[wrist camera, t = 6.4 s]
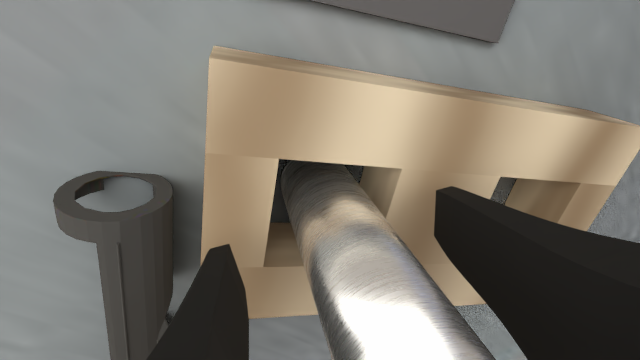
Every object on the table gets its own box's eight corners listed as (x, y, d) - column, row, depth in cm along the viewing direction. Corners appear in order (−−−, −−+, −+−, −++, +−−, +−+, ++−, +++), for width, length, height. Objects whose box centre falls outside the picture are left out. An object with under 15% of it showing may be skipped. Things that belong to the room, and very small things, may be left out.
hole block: (587, 110, 17) (652, 129, 14) (503, 263, 21) (541, 300, 18) (214, 45, 11) (209, 57, 9) (203, 269, 16) (198, 321, 13)
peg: (343, 143, 14) (521, 339, 6) (347, 202, 16) (496, 432, 7) (274, 156, 14) (352, 395, 5) (285, 216, 15) (362, 484, 6)
